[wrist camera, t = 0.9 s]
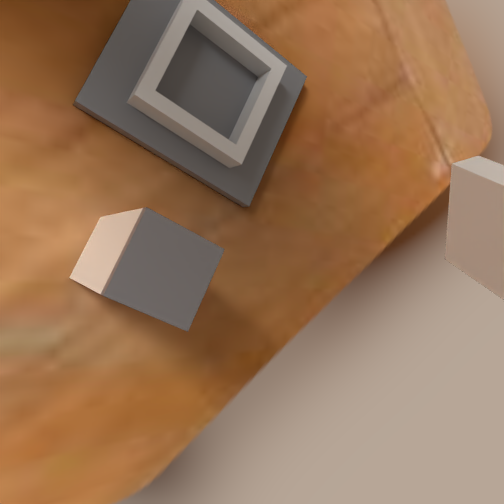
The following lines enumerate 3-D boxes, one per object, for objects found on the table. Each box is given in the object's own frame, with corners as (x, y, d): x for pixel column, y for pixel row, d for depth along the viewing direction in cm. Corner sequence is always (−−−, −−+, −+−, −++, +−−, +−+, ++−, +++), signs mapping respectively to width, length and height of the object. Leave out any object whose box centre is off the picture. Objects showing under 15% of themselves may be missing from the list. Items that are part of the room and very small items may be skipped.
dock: (72, 104, 30) (80, 91, 28) (152, -40, 33) (166, -64, 30) (243, 207, 36) (262, 204, 34) (299, 80, 39) (321, 68, 36)
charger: (69, 277, 30) (102, 295, 21) (100, 216, 31) (146, 207, 22) (131, 304, 32) (187, 331, 23) (158, 246, 33) (224, 249, 24)
